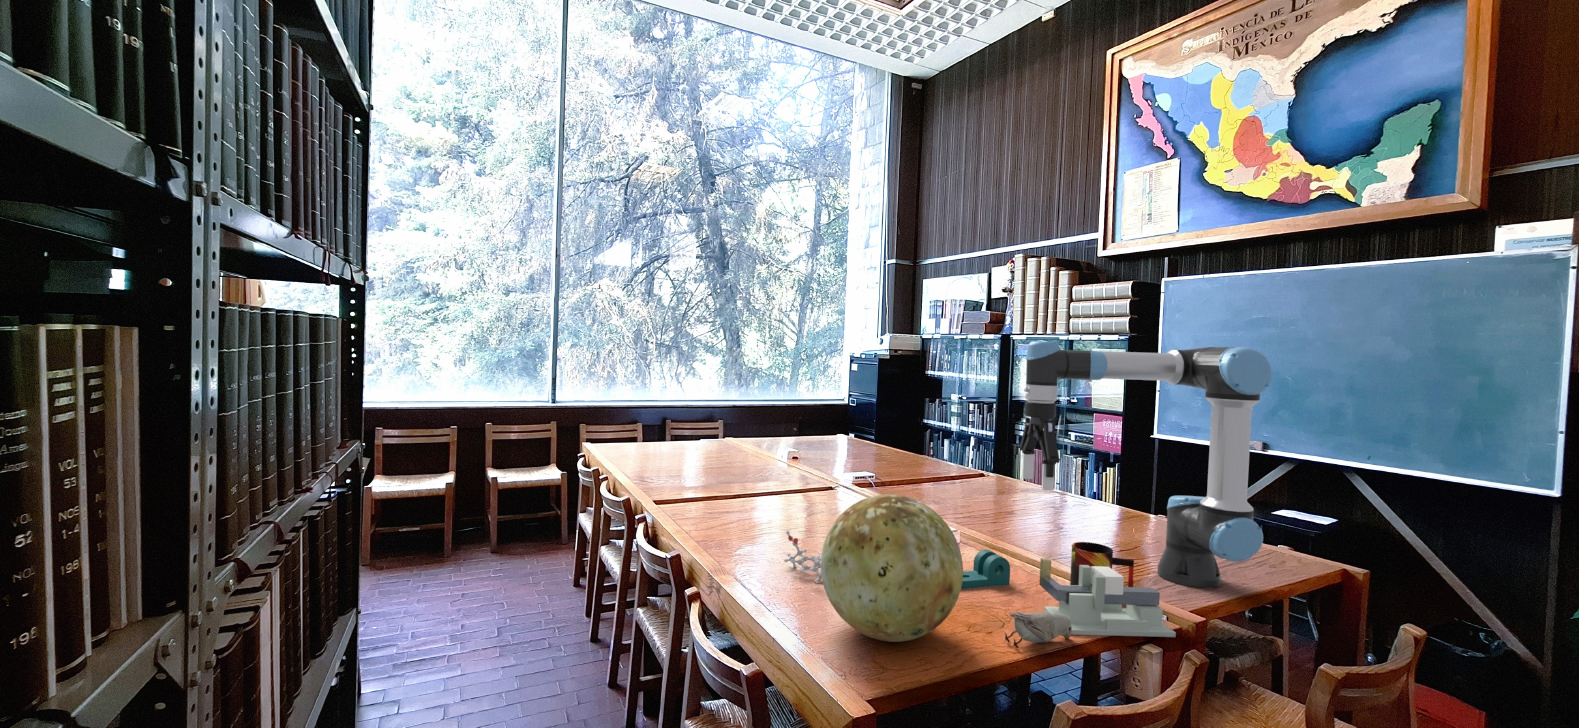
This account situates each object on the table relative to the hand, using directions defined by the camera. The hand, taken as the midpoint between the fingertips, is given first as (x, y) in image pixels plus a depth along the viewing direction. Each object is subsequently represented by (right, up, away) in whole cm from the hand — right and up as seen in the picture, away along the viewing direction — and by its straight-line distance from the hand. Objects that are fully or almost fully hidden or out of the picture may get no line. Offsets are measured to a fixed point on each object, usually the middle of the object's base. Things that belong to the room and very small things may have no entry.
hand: (1037, 484), depth 169 cm
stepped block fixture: (+9, -29, -18) cm, 35 cm away
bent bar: (+9, -24, -14) cm, 29 cm away
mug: (+16, -29, +1) cm, 33 cm away
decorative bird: (-10, -29, -29) cm, 42 cm away
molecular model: (-58, -26, +8) cm, 64 cm away
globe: (-42, -28, -27) cm, 58 cm away
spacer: (+9, -21, -18) cm, 29 cm away
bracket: (-15, -28, +6) cm, 32 cm away
